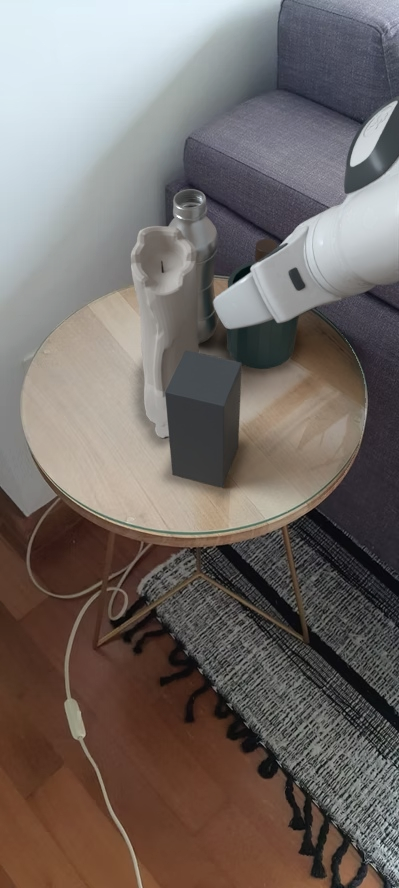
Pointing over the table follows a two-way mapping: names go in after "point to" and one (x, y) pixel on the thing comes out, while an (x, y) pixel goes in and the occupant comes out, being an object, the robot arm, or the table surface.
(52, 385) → the table surface
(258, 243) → the rod with orange collar
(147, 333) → the candle
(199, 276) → the silver metal bottle
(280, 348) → the teal cup
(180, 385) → the stand
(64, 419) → the table surface
